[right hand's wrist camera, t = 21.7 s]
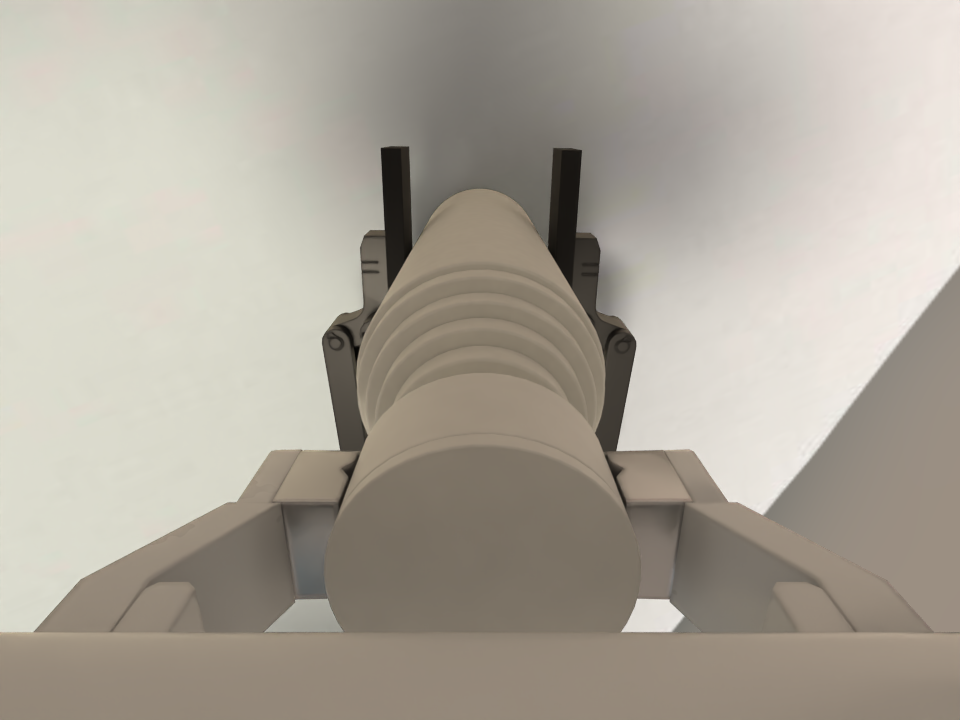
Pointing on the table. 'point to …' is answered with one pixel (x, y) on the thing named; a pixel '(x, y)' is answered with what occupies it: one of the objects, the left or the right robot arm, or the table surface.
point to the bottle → (480, 312)
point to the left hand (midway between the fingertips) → (481, 149)
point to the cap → (482, 518)
